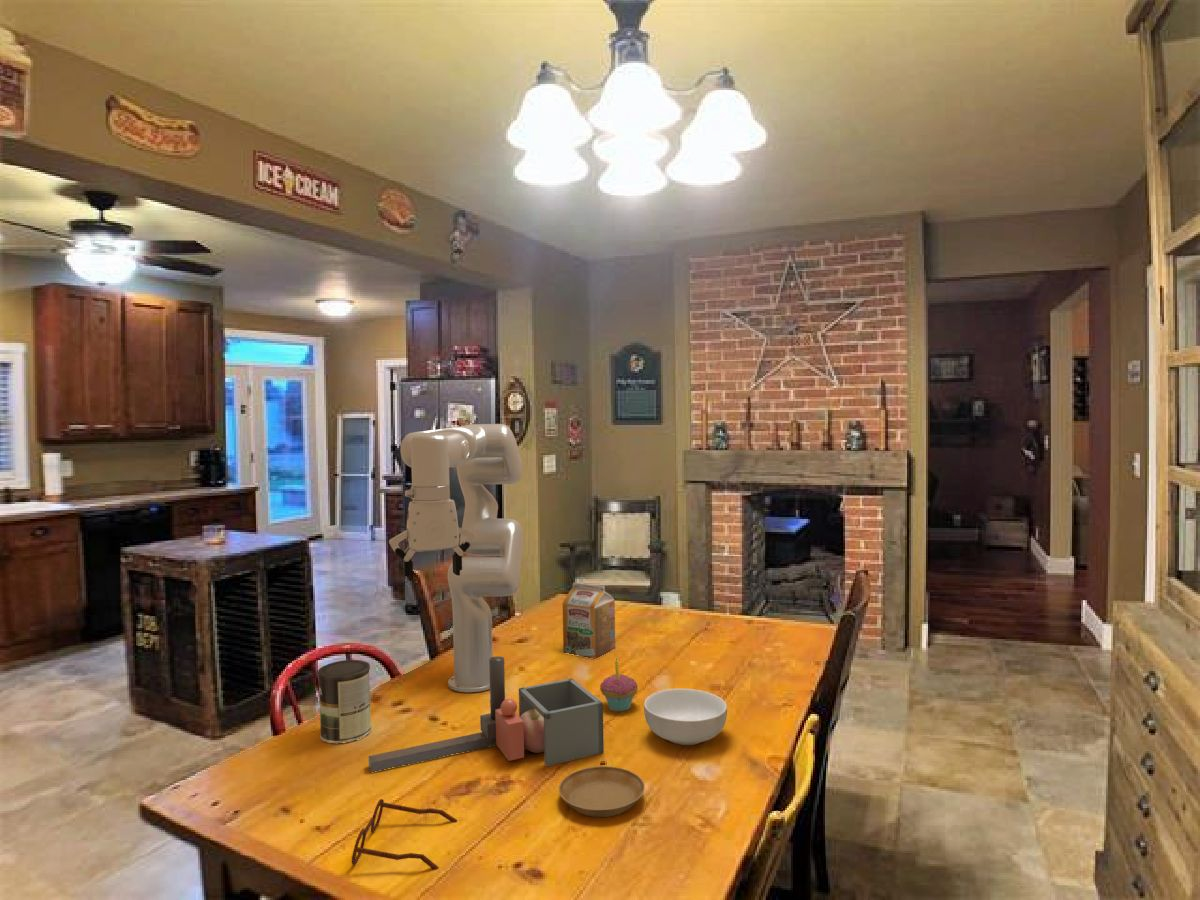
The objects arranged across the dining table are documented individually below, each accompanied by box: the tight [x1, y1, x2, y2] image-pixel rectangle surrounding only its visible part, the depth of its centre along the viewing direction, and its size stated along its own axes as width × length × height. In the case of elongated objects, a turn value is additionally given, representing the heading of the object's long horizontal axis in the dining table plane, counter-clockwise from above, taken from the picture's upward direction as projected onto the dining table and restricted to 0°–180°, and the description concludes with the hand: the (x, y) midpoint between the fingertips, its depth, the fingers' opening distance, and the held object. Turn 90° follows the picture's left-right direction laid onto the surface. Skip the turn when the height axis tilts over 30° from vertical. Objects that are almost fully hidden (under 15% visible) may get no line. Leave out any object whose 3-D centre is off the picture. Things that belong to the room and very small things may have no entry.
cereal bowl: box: [643, 688, 728, 746], centre depth 149 cm, size 17×17×7 cm
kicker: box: [480, 655, 525, 762], centre depth 144 cm, size 14×6×16 cm, turn 26°
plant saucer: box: [558, 765, 646, 818], centre depth 125 cm, size 15×15×3 cm
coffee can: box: [317, 659, 372, 744], centre depth 153 cm, size 10×10×14 cm
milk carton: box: [562, 582, 616, 660], centre depth 204 cm, size 11×11×19 cm
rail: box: [368, 731, 498, 773], centre depth 143 cm, size 3×27×2 cm, turn 116°
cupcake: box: [599, 657, 638, 712], centre depth 164 cm, size 9×8×12 cm
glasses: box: [351, 798, 458, 870], centre depth 113 cm, size 13×13×5 cm
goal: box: [518, 677, 605, 767], centre depth 146 cm, size 15×12×10 cm
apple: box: [520, 709, 545, 754], centre depth 144 cm, size 8×8×8 cm
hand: (433, 576), depth 150 cm, fingers open, 9 cm apart
